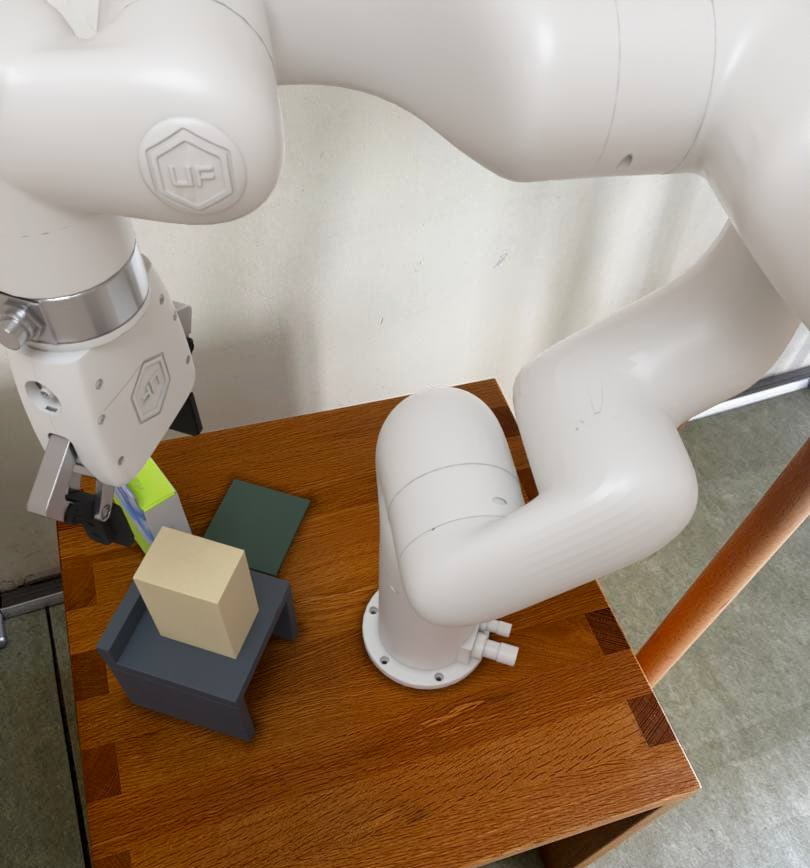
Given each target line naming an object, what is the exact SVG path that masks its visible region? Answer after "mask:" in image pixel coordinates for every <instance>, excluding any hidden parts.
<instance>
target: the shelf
mask: <svg viewBox="0 0 810 868" xmlns="http://www.w3.org/2000/svg"><path fill="white" fill-rule="evenodd" d="M249 571H250V576H251V580H252V584H253V588H254V592H255V596H256V600H257V604H258V608H259V611H258V613H257V615H256V617H255V620H254V622H253V624H252V626H251V628H250V630H249V632H248V635H247V637H246V639H245V641H244V643H243V645H242V647H241V650H240V652H239V654H238V656H237V658H236V659H233V658H230V657H227V656H224V655H221V654H217V653H214V652H211V651H208V650H205V649H202V648H198V647H195V646H192V645H189V644H186V643H183V642H179V641H176V640H173V639H170V638H167V637H164V636H161V635H160V633H159V631H158V629H157V627H156V625H155V623H154V621H153V619H152V616H151V614H150V612H149V610H148V608H147V606H146V604H145V602H144V600H143V598H142V596H141V594H140V592H139V590H138V588H137V586H136V584H135V581H134V579H133V580H132V582H131V583H130V585H129V587H128V589H127V591H126V592H125V594H124V596H123V598H122V599H121V601H120V602H119V605H118V607H117V608H116V610H115V611H114V614H113V615H112V617H111V619H110V620H109V622H108V624H107V625H106V627H105V629H104V631H103V632H102V634H101V635H100V638H99V640H98V641H97V643H96V645H95V649H96V650H97V652H98V654H99V655H100V656H101V658H102V660H104V662H105V664H106V665H107V667H108V668H109V670H110V672H111V673H112V675H113V676H114V678H115V679H116V681H117V682H118V684H119V685H120V687H121V688H122V690H123V691H124V693H125V694H126V696H127V697H128V699H129V700H130V702H131V704H132V705H135V706H138V707H142V708H145V709H147V710H150V711H153V712H157V713H160V714H163V715H166V716H169V717H172V718H175V719H178V720H180V721H184V722H187V723H189V724H194V725H197V726H200V727H203V728H205V729H208V730H211V731H215V732H218V733H221V734H224V735H227V736H228V737H229V736H230V737H233V738H236V739H239V740H242V741H245V742H248V743H251V742H252V741H253V737H254V735H255V733H256V728H255V725H254V723H253V720H252V717H251V714H250V712H249V709H248V706H247V702H246V699H245V697H244V696H245V694H246V692H247V689H248V688H249V685H250V683H251V681H252V678H253V676H254V675H255V672H256V669H257V667H258V665H259V662H260V661H261V659H262V656H263V654H264V651H265V650H266V647H267V646H268V643H269V641H270V638H271V636H276V637H278V638H282V639H286V640H288V641H292V642H295V640H296V637H297V635H298V633H299V627H298V621H297V615H296V610H295V609H296V608H295V604H294V603H295V602H294V598H293V591H292V587H291V586H292V585H291V582H290V581H288V580H285V579H281V578H278V577H274V576H270V575H267V574H264V573H260V572H257V571H253V570H250V569H249Z"/></svg>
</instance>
